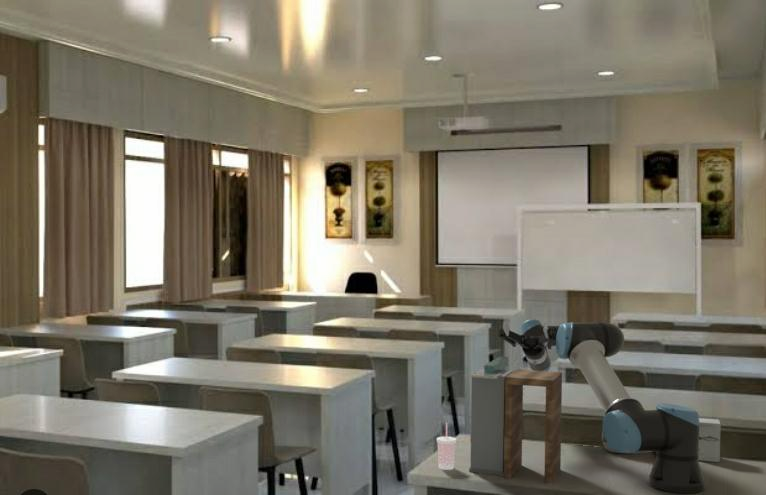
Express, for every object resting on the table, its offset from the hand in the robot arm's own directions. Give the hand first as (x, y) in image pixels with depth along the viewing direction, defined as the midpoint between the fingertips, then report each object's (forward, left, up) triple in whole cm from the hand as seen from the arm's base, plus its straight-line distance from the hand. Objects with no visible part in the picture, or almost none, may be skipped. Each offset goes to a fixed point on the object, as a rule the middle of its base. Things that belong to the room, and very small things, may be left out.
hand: (524, 325), depth 291 cm
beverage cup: (+17, +32, -42) cm, 55 cm away
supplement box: (-58, -12, -42) cm, 73 cm away
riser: (-9, +28, -42) cm, 51 cm away
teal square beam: (+4, +25, -12) cm, 28 cm away
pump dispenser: (-30, -10, -42) cm, 52 cm away
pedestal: (+4, +27, -42) cm, 50 cm away
